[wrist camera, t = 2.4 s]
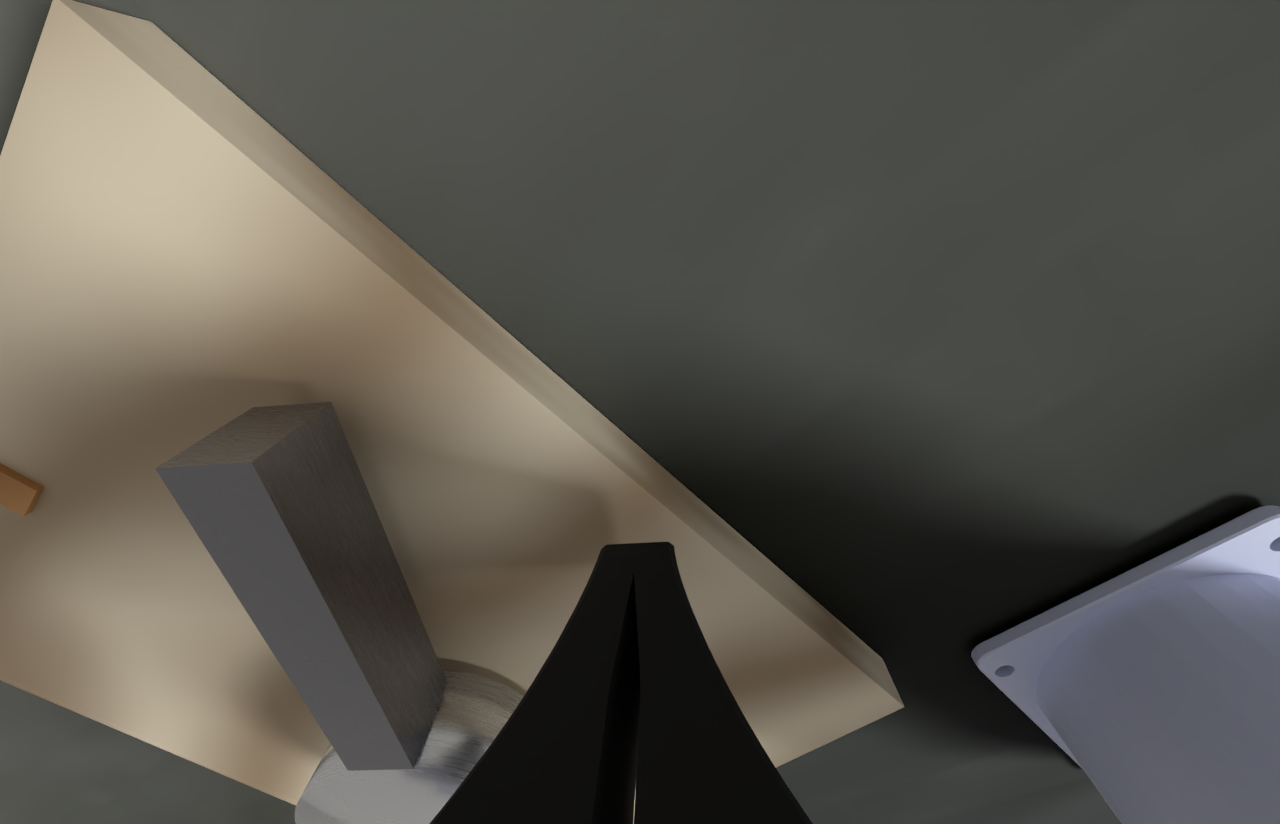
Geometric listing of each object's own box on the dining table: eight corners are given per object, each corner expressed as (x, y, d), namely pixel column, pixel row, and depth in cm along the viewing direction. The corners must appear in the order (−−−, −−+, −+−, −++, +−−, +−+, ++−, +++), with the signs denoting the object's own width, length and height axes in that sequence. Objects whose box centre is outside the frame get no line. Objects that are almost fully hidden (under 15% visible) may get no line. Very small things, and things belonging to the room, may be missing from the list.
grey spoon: (572, 790, 16) (558, 890, 13) (387, 793, 16) (346, 892, 14) (459, 384, 9) (400, 452, 7) (157, 405, 10) (13, 477, 7)
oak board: (882, 658, 15) (951, 808, 12) (514, 847, 21) (488, 983, 18) (151, 21, 8) (-214, -78, 5) (-80, 572, 14) (-313, 704, 11)
